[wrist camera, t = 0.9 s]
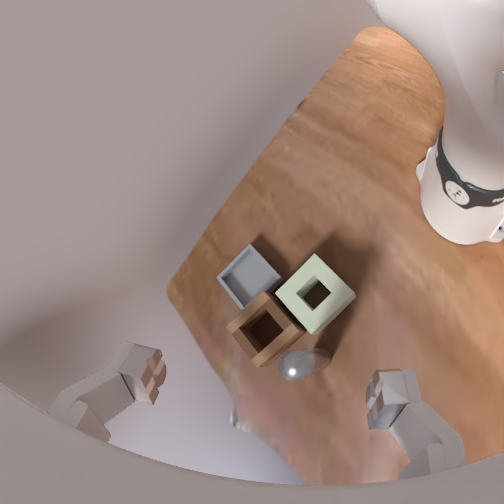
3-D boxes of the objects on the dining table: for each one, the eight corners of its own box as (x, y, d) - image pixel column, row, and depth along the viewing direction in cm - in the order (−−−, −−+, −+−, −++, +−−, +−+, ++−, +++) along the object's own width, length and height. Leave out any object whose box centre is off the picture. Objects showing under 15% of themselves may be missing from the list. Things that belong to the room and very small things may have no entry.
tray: (254, 247, 50) (249, 243, 48) (284, 279, 46) (280, 276, 44) (222, 280, 50) (216, 277, 49) (249, 314, 46) (243, 312, 45)
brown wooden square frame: (273, 295, 46) (263, 290, 42) (305, 332, 42) (298, 331, 38) (238, 328, 47) (226, 326, 43) (267, 366, 43) (257, 367, 39)
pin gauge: (321, 343, 40) (295, 343, 28) (335, 359, 39) (315, 367, 27) (305, 357, 41) (272, 363, 29) (318, 373, 39) (291, 386, 27)
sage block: (320, 260, 44) (314, 253, 41) (356, 296, 40) (354, 292, 37) (283, 297, 45) (274, 293, 41) (317, 334, 41) (311, 334, 38)
